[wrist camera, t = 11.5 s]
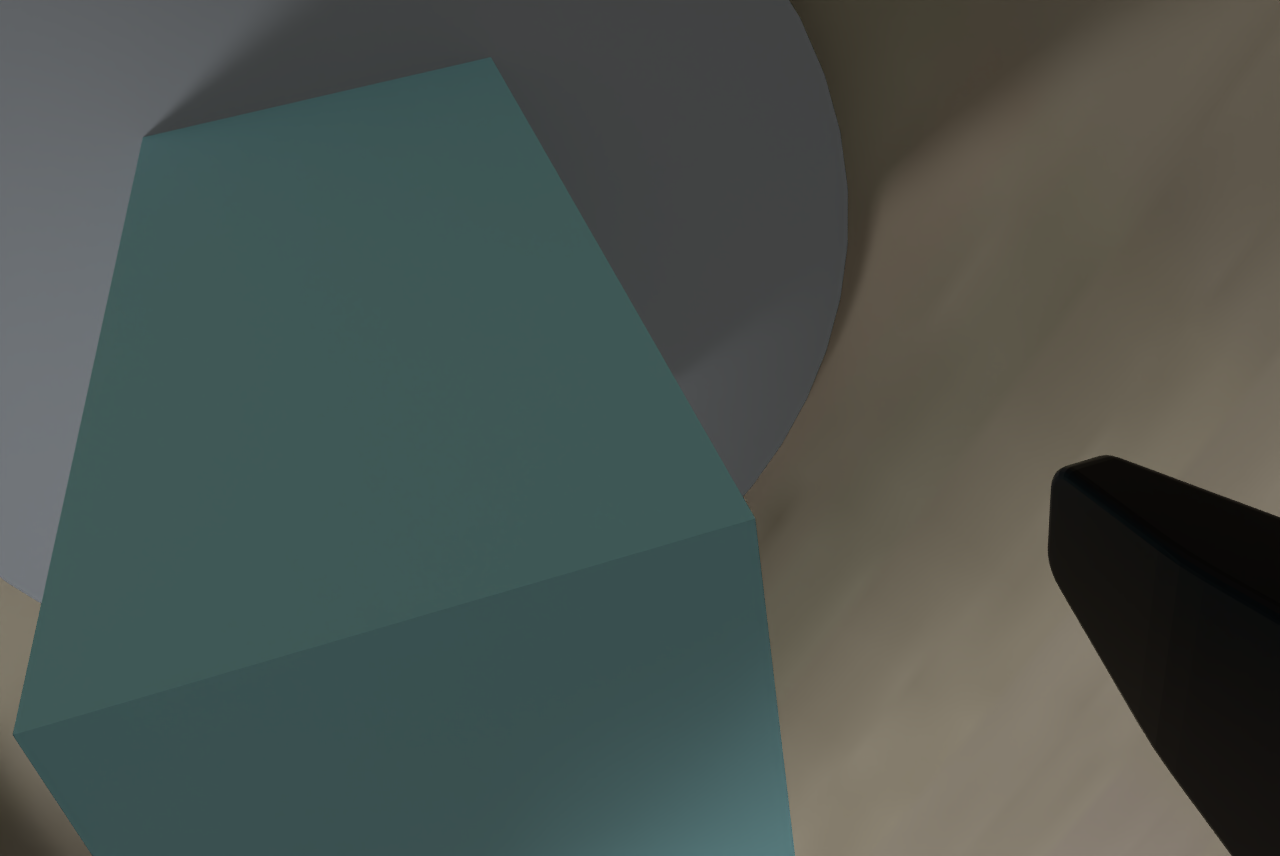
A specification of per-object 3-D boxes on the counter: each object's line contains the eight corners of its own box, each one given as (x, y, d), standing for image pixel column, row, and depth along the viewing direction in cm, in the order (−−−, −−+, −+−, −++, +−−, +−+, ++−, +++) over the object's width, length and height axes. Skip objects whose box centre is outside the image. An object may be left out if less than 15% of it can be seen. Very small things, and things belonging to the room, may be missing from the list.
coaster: (852, 517, 18) (869, 542, 17) (96, 746, 16) (91, 781, 16) (790, -365, 12) (814, -365, 11) (-443, -114, 10) (-478, -102, 10)
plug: (576, 449, 15) (818, 1053, 9) (299, 527, 15) (335, 1223, 8) (491, 56, 12) (754, 517, 6) (142, 137, 12) (12, 736, 5)
